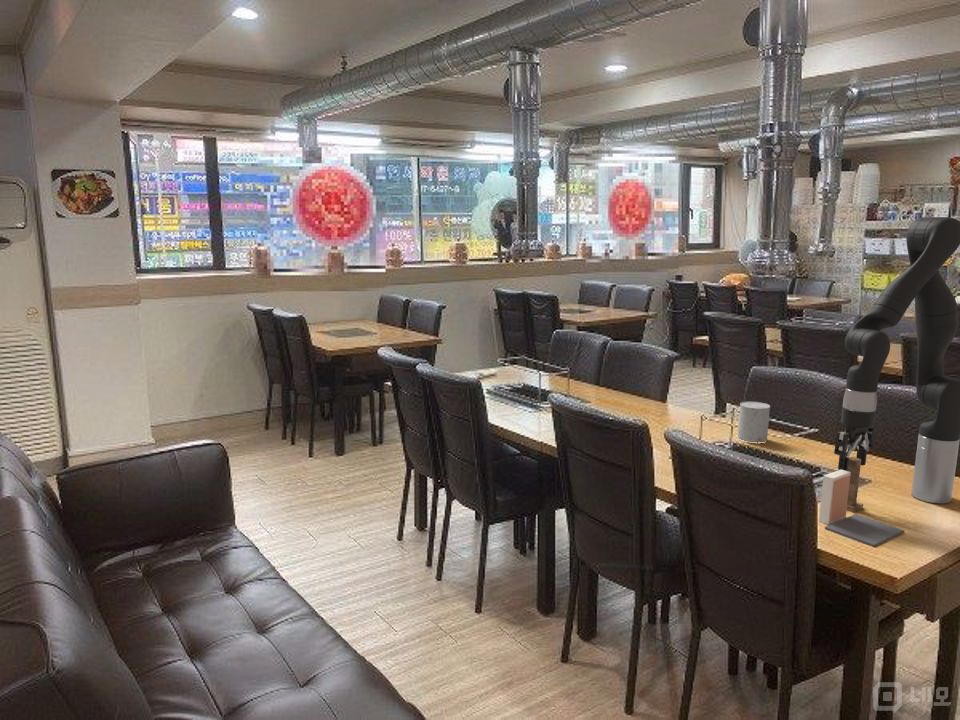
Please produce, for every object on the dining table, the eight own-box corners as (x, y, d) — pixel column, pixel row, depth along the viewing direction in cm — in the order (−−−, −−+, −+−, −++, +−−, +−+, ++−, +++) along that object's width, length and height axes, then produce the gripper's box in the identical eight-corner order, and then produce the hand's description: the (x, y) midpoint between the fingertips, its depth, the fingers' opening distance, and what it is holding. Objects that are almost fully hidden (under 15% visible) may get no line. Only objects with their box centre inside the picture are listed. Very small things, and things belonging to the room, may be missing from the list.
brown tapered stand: (844, 501, 190) (849, 454, 188) (862, 508, 186) (868, 459, 184) (833, 506, 188) (838, 458, 185) (852, 512, 184) (857, 463, 181)
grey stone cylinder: (737, 442, 241) (740, 407, 239) (737, 434, 250) (739, 400, 248) (767, 445, 238) (771, 409, 236) (766, 437, 247) (769, 402, 245)
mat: (855, 515, 182) (855, 513, 181) (904, 532, 172) (904, 530, 172) (824, 528, 174) (824, 526, 174) (873, 546, 164) (874, 544, 164)
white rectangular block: (836, 514, 183) (841, 469, 180) (846, 517, 180) (851, 472, 178) (818, 521, 178) (823, 475, 176) (829, 525, 176) (834, 478, 174)
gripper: (859, 400, 189) (852, 459, 192) (829, 407, 181) (822, 468, 184) (888, 406, 183) (880, 467, 186) (858, 413, 175) (851, 477, 178)
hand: (851, 467), depth 185 cm, fingers open, 8 cm apart
